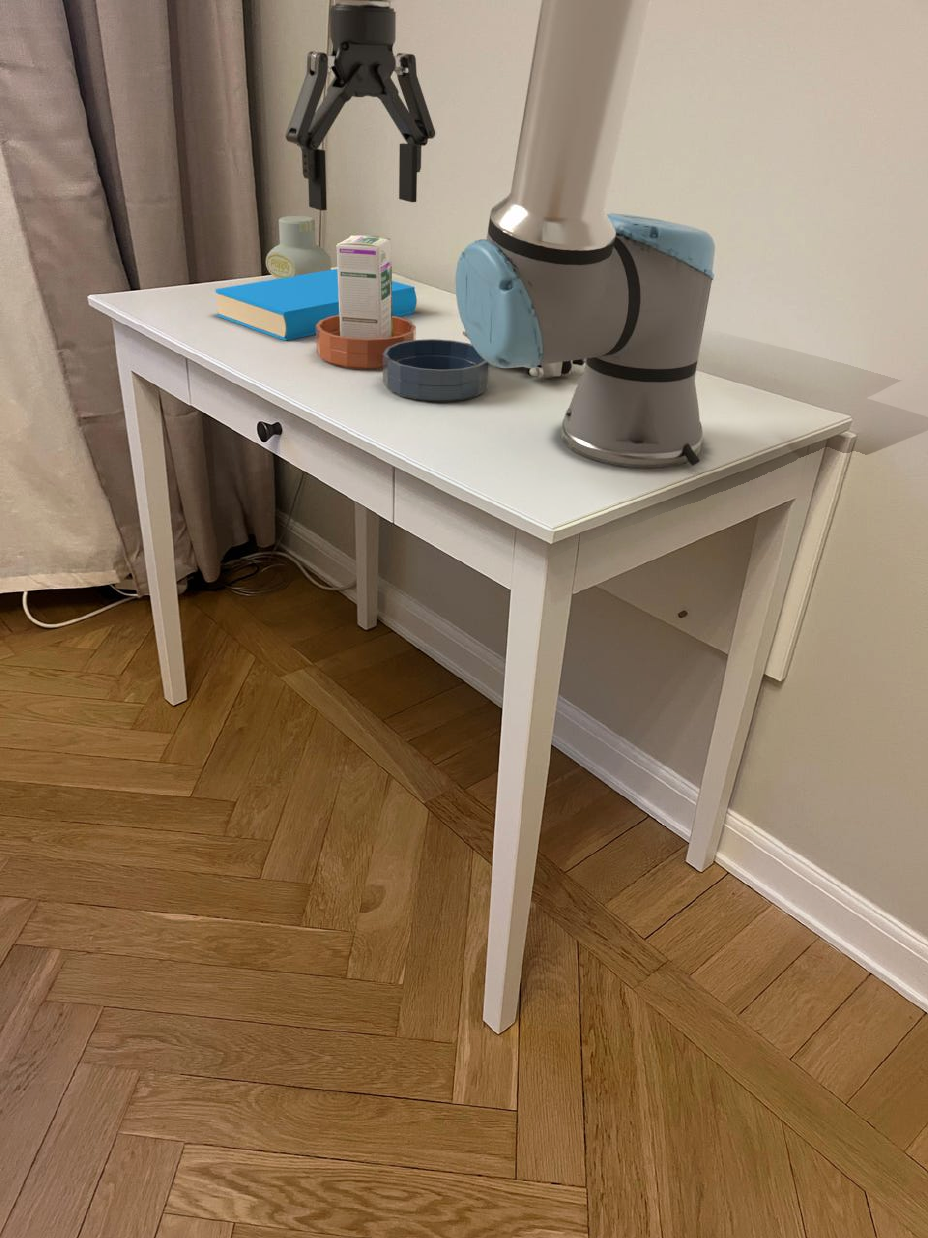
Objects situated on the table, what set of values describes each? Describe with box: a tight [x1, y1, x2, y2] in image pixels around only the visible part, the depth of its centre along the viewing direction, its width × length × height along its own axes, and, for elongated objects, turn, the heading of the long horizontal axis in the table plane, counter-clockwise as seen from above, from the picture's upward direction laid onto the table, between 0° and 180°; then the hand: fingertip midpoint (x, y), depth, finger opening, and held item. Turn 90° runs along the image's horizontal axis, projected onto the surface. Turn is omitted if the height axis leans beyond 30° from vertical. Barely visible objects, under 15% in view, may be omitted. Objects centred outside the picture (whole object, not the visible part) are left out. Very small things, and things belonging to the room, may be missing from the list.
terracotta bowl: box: [315, 315, 417, 370], centre depth 132 cm, size 13×13×4 cm
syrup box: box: [336, 234, 393, 339], centre depth 129 cm, size 6×6×14 cm
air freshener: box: [265, 215, 332, 279], centre depth 165 cm, size 11×8×10 cm
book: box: [215, 268, 418, 342], centre depth 148 cm, size 17×4×25 cm
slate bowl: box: [382, 338, 491, 403], centre depth 122 cm, size 13×13×4 cm
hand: (364, 204), depth 123 cm, fingers open, 13 cm apart
